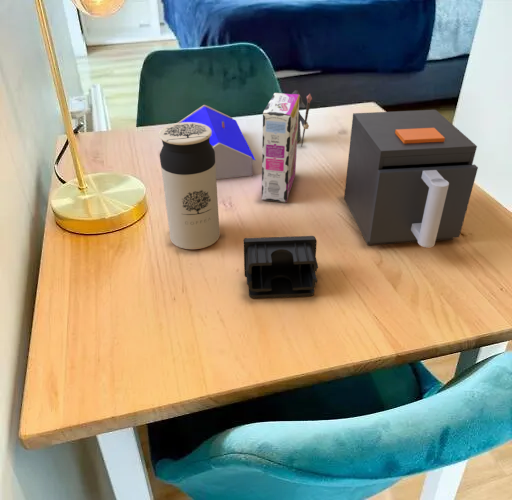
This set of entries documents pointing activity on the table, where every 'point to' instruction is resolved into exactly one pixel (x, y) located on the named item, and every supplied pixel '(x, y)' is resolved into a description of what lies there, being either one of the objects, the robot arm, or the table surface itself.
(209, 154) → the travel mug
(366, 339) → the table surface
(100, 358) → the table surface
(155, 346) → the table surface
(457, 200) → the basket
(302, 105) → the wizard figurine
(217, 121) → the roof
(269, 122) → the candy bar box
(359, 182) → the fryer housing
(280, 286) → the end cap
